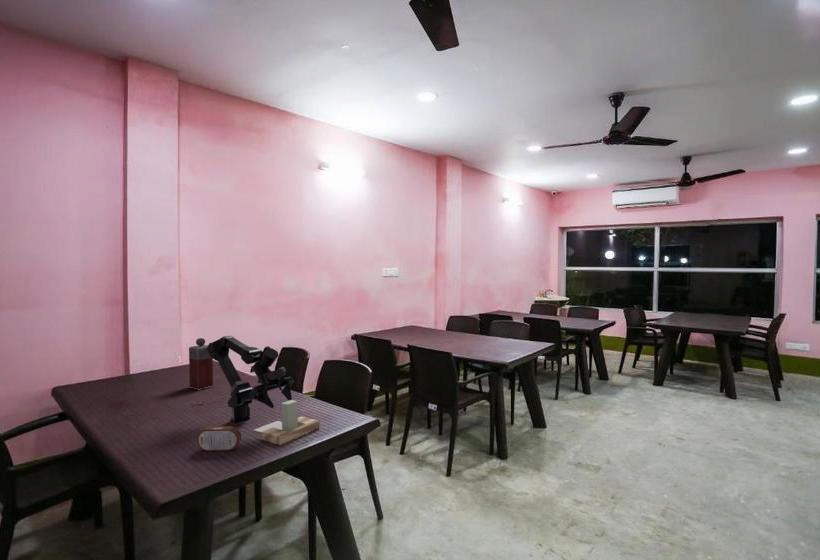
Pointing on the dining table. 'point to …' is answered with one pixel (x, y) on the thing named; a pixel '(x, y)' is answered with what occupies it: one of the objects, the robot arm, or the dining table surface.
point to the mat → (270, 426)
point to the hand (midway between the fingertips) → (282, 404)
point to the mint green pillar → (289, 415)
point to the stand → (283, 436)
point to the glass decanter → (200, 365)
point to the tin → (219, 438)
